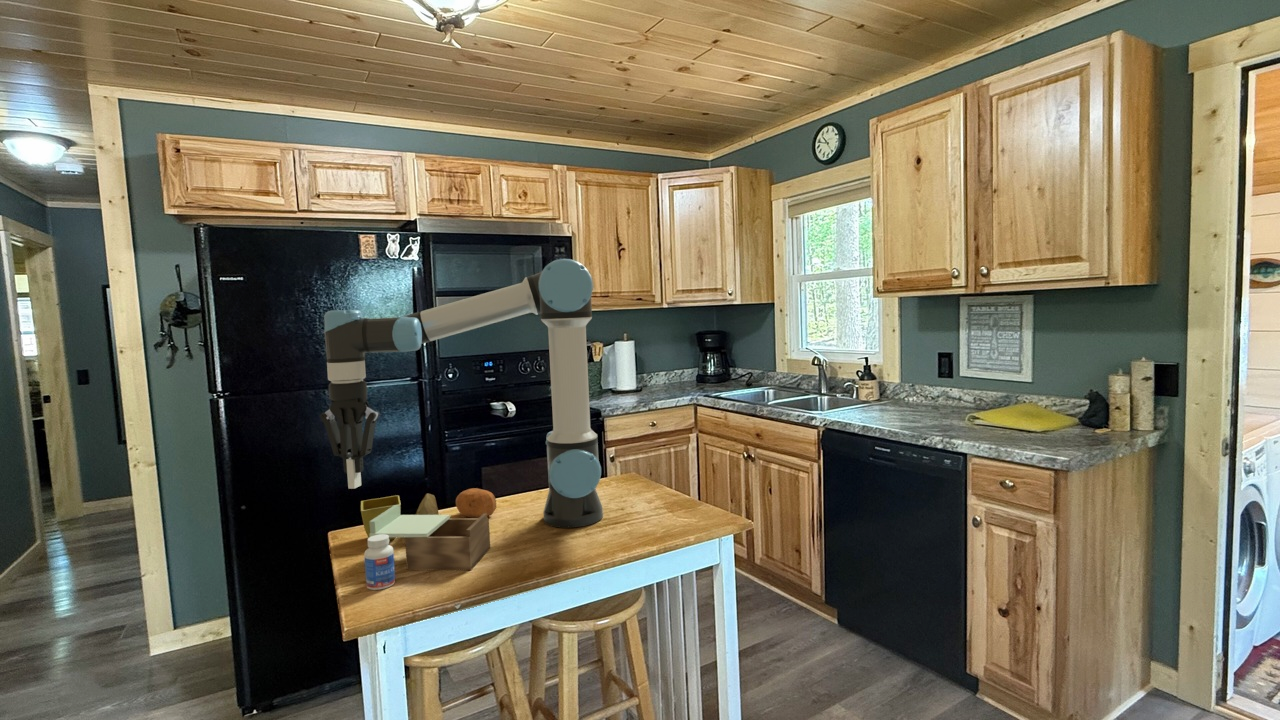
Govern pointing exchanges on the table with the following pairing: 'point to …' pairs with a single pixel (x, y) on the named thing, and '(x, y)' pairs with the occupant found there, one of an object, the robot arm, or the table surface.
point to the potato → (475, 502)
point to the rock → (428, 506)
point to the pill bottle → (379, 563)
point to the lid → (405, 524)
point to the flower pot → (377, 509)
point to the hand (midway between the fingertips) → (354, 486)
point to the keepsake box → (450, 545)
